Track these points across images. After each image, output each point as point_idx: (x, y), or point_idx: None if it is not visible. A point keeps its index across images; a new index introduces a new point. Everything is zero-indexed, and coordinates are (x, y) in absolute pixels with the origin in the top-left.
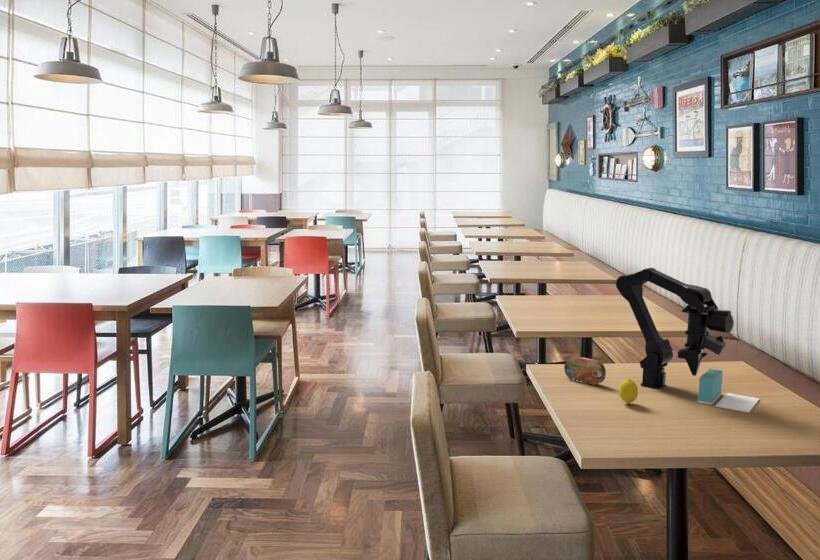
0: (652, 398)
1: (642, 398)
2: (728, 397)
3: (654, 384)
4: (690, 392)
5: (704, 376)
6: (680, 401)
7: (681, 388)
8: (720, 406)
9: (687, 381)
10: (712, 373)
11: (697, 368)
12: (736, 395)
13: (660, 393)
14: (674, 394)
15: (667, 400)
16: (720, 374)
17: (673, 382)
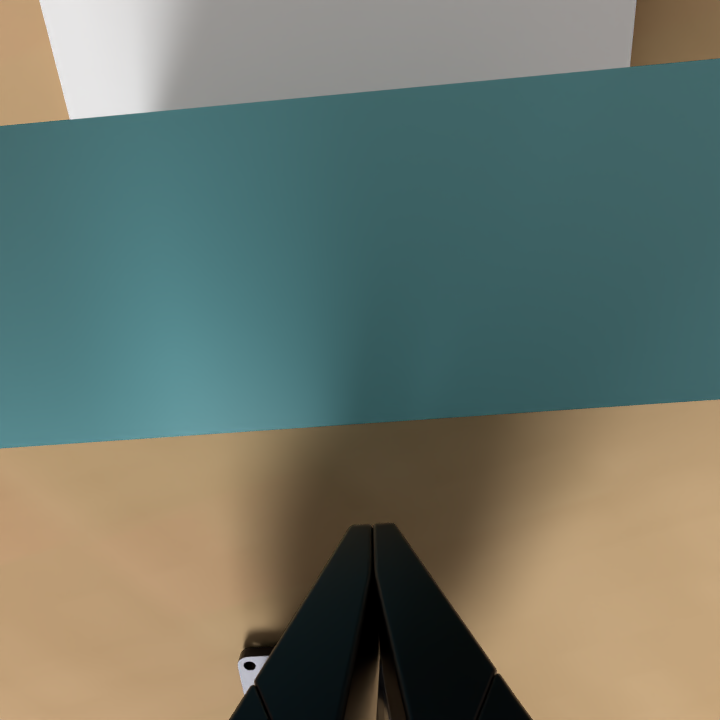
0: (659, 599)
1: (697, 644)
2: (232, 65)
3: (380, 697)
4: (302, 445)
5: (661, 339)
6: (624, 423)
7: (245, 533)
8: (630, 27)
9: (16, 560)
10: (264, 279)
11: (418, 623)
12: (79, 7)
13: (493, 599)
14: (451, 520)
15: (652, 507)
16: (77, 132)
17: (137, 622)
